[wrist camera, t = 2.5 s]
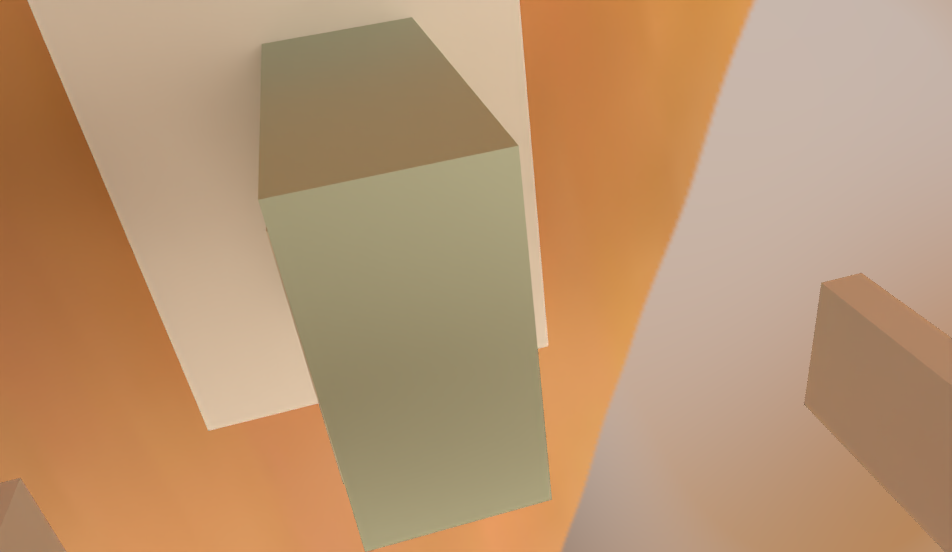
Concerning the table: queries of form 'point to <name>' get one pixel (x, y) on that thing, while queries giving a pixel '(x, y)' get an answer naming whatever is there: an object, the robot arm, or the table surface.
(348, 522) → the table surface
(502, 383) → the tea tin
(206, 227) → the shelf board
